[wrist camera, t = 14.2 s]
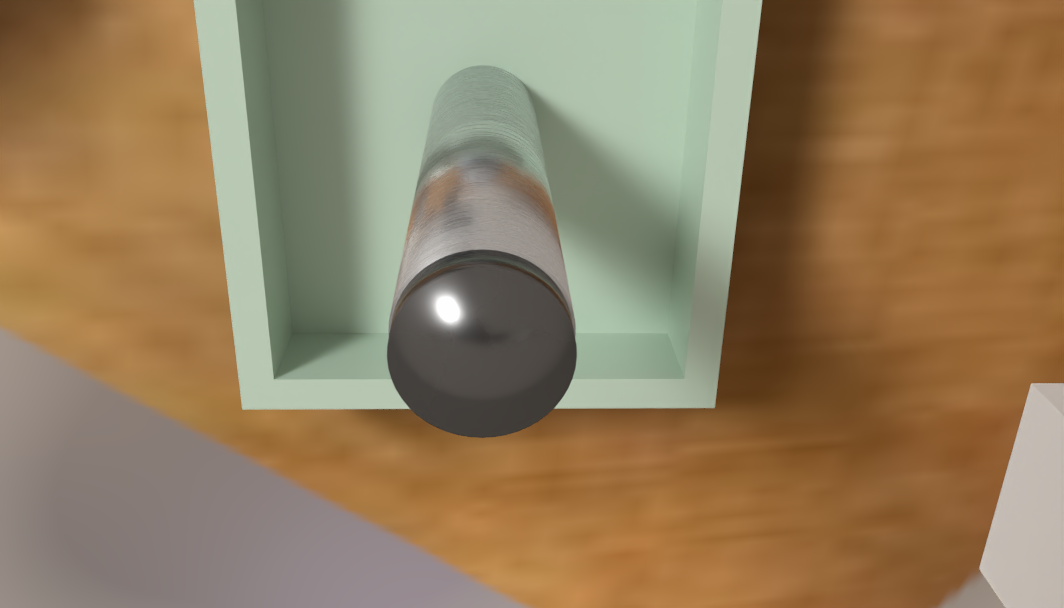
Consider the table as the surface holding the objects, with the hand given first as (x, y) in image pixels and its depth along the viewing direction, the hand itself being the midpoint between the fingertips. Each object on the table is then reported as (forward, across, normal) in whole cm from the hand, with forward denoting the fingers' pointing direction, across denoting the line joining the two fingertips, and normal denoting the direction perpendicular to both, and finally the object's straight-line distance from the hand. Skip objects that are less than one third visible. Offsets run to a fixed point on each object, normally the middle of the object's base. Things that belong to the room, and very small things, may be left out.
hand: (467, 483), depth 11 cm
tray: (+20, 0, -1) cm, 20 cm away
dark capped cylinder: (+18, 0, -1) cm, 19 cm away
